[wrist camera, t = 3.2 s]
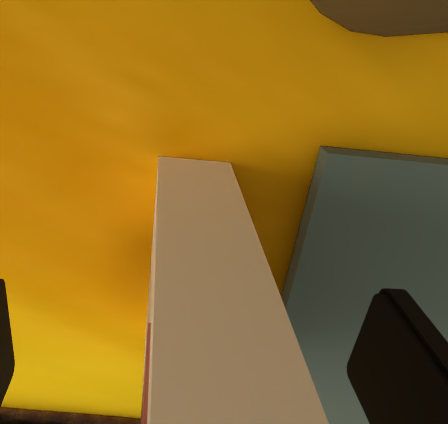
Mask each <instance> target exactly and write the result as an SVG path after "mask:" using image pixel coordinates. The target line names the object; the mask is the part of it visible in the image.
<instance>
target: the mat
mask: <svg viewBox="0 0 448 424" xmlns="http://www.w3.org/2000/svg"><path fill="white" fill-rule="evenodd" d="M383 288H391V289H404V290H406V291H407V292H408V293H409V294H410V295H411V297H412V298H413V299H414V300H415V302H416V303H417V304H418V305H419V307H420V308H421V309H422V310H423V312H424V313H425V314H426V315H427V317H428V318H429V319H430V320H431V322H432V323H433V324H434V325H435V327H436V328H437V329H438V330H439V332H440V333H441V334H442V335H443V337H444V338H445V339H446V341H447V342H448V159H447V158H437V157H427V156H417V155H407V154H397V153H387V152H376V151H366V150H356V149H346V148H336V147H326V146H321V147H320V151H319V155H318V158H317V162H316V166H315V170H314V174H313V177H312V181H311V185H310V189H309V193H308V197H307V200H306V204H305V208H304V212H303V216H302V220H301V223H300V227H299V231H298V235H297V239H296V243H295V246H294V250H293V254H292V258H291V262H290V266H289V269H288V273H287V277H286V281H285V285H284V289H283V292H282V296H281V298H282V301H283V304H284V306H285V309H286V312H287V314H288V317H289V320H290V322H291V325H292V328H293V330H294V333H295V336H296V338H297V341H298V344H299V346H300V349H301V351H302V354H303V357H304V359H305V362H306V365H307V367H308V370H309V373H310V375H311V378H312V381H313V383H314V386H315V389H316V391H317V394H318V397H319V399H320V402H321V405H322V407H323V410H324V412H325V415H326V418H327V420H328V423H329V424H370V423H369V421H368V419H367V417H366V415H365V413H364V411H363V408H362V406H361V404H360V402H359V400H358V398H357V396H356V393H355V391H354V389H353V387H352V385H351V383H350V380H349V378H348V375H347V363H348V360H349V358H350V355H351V352H352V350H353V347H354V345H355V342H356V340H357V337H358V334H359V332H360V329H361V327H362V324H363V321H364V319H365V316H366V314H367V311H368V308H369V306H370V303H371V301H372V298H373V296H374V295H375V294H377V293H379V291H380V290H381V289H383Z"/></svg>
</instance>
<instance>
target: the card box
mask: <svg viewBox="0 0 448 424" xmlns="http://www.w3.org/2000/svg"><path fill="white" fill-rule="evenodd" d="M140 424H329V423H328V420H327V418H326V415H325V412H324V410H323V407H322V405H321V402H320V399H319V397H318V394H317V391H316V389H315V386H314V383H313V381H312V378H311V375H310V373H309V370H308V367H307V365H306V362H305V359H304V357H303V354H302V351H301V349H300V346H299V344H298V341H297V338H296V336H295V333H294V330H293V328H292V325H291V322H290V320H289V317H288V314H287V312H286V309H285V306H284V304H283V301H282V298H281V296H280V293H279V290H278V288H277V285H276V283H275V280H274V277H273V275H272V272H271V269H270V267H269V264H268V261H267V259H266V256H265V253H264V251H263V248H262V245H261V243H260V240H259V237H258V235H257V232H256V229H255V227H254V224H253V222H252V219H251V216H250V214H249V211H248V208H247V206H246V203H245V200H244V198H243V195H242V192H241V190H240V187H239V184H238V182H237V179H236V176H235V174H234V171H233V168H232V166H231V163H230V162H218V161H207V160H196V159H184V158H173V157H162V156H159V158H158V171H157V185H156V199H155V213H154V226H153V240H152V254H151V268H150V281H149V295H148V309H147V322H146V337H145V356H144V375H143V394H142V410H141V423H140Z"/></svg>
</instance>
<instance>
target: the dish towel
mask: <svg viewBox="0 0 448 424" xmlns="http://www.w3.org/2000/svg"><path fill="white" fill-rule="evenodd" d="M140 423H141V419H134V418H125V417H114V416H102V415H91V414H82V413H80V414H79V413H68V412H57V411H41V410H27V409H17V408H5V407H0V424H140Z"/></svg>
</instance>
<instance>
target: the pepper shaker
mask: <svg viewBox="0 0 448 424" xmlns="http://www.w3.org/2000/svg"><path fill="white" fill-rule="evenodd" d="M310 1H311V2H312V3H313V5H314V6H315V7H316V8H317V10H318V11H319V12H320V13H321V14H323V15H325V16H326V17H328V18H330V19H331V20H333V21H335V22H336V23H338V24H340V25H341V26H343V27H345V28H346V29H348V30H350V31H353V32H359V33H365V34H371V35H378V36H384V37H388V36H402V35H416V34H430V33H443V32H448V0H310Z"/></svg>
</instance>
